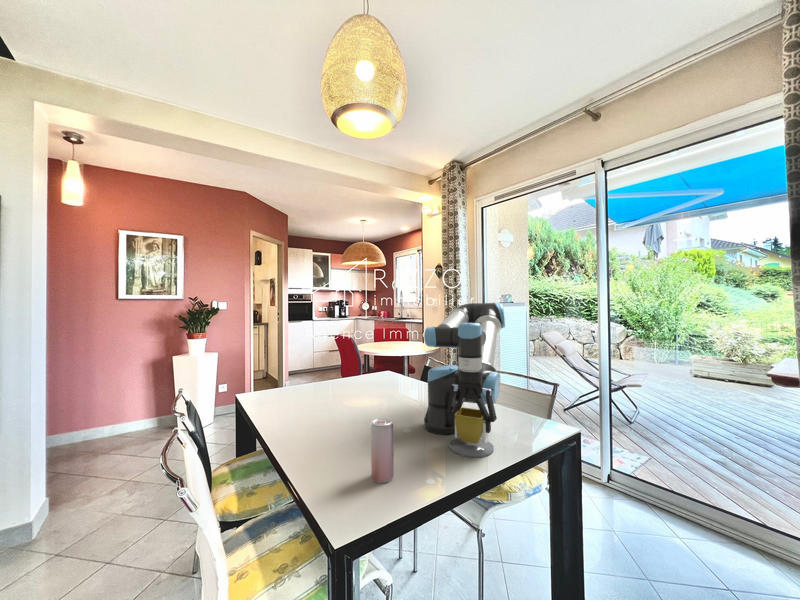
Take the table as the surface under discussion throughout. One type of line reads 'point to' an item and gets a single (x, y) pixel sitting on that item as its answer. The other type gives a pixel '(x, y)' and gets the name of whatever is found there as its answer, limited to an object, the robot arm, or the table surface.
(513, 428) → the table surface
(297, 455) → the table surface
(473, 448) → the disc
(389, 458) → the beverage can
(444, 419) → the robot arm
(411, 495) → the table surface
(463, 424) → the flower pot
